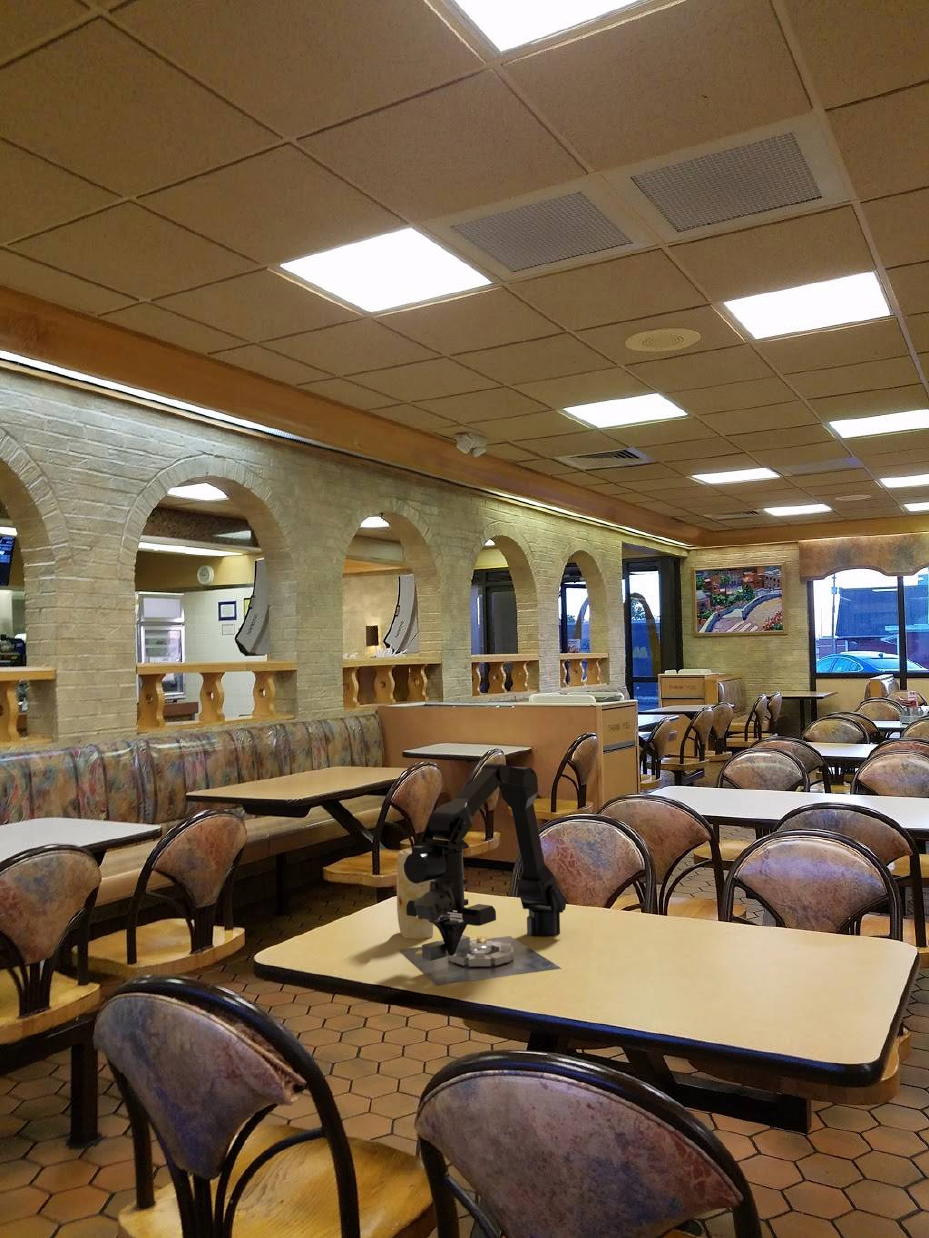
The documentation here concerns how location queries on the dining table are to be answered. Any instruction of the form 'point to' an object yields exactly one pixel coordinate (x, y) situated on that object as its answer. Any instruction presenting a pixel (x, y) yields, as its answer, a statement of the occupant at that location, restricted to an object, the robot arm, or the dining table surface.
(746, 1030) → the dining table surface
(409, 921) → the food model
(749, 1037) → the dining table surface
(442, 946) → the grey ring frame
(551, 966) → the cap plate
